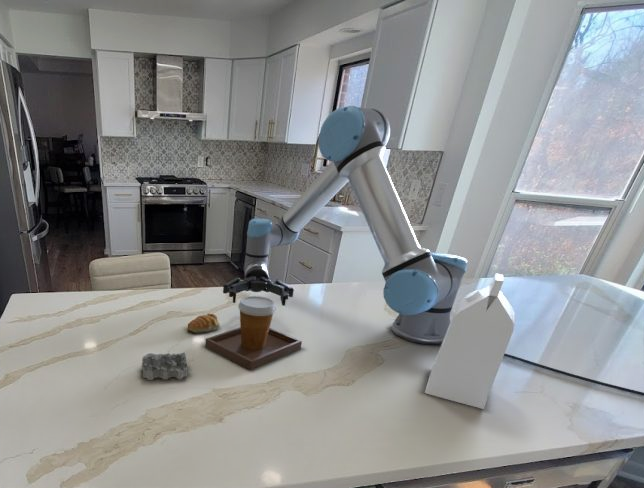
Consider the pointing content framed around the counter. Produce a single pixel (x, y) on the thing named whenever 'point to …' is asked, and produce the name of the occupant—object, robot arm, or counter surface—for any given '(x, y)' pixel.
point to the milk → (473, 347)
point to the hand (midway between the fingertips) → (259, 299)
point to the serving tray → (249, 358)
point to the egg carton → (164, 366)
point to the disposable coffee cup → (255, 320)
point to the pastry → (204, 323)
